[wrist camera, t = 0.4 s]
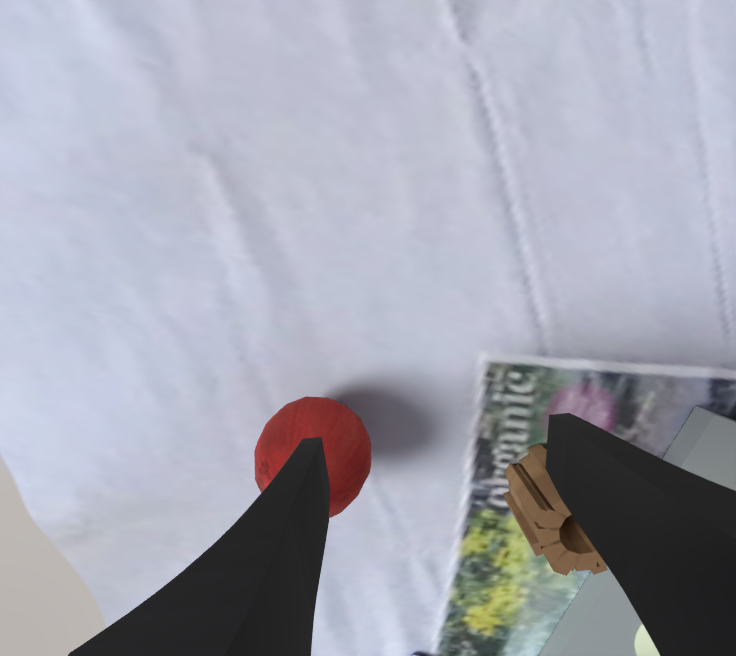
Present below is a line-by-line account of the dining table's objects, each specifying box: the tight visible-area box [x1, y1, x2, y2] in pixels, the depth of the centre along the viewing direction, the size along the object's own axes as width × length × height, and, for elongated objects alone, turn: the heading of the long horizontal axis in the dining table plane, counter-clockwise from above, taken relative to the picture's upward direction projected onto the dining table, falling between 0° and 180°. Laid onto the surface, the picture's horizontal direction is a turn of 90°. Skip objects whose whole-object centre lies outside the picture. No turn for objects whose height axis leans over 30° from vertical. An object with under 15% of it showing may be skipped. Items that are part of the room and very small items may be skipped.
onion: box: [255, 397, 371, 518], centre depth 18 cm, size 6×6×8 cm
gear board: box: [538, 406, 736, 656], centre depth 22 cm, size 22×14×4 cm, turn 159°
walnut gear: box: [503, 444, 608, 576], centre depth 21 cm, size 6×6×4 cm
